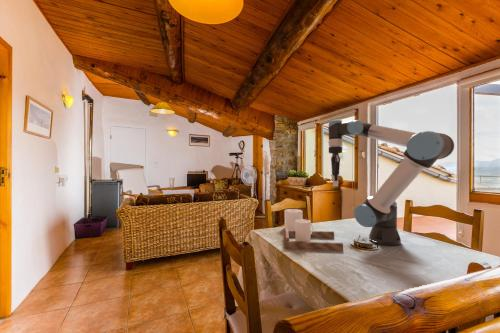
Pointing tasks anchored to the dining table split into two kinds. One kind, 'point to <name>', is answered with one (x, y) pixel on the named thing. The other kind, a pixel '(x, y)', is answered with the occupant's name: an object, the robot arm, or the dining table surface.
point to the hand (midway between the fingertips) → (335, 186)
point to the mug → (303, 230)
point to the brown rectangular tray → (313, 244)
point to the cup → (292, 217)
